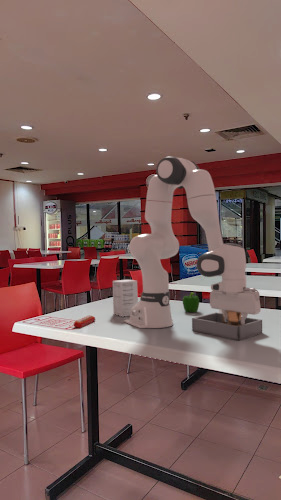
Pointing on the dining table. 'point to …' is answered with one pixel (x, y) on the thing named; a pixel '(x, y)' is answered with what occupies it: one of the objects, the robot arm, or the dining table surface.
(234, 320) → the copper tin
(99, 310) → the dining table surface
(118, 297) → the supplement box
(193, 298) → the bell pepper
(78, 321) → the candy bar
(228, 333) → the box
